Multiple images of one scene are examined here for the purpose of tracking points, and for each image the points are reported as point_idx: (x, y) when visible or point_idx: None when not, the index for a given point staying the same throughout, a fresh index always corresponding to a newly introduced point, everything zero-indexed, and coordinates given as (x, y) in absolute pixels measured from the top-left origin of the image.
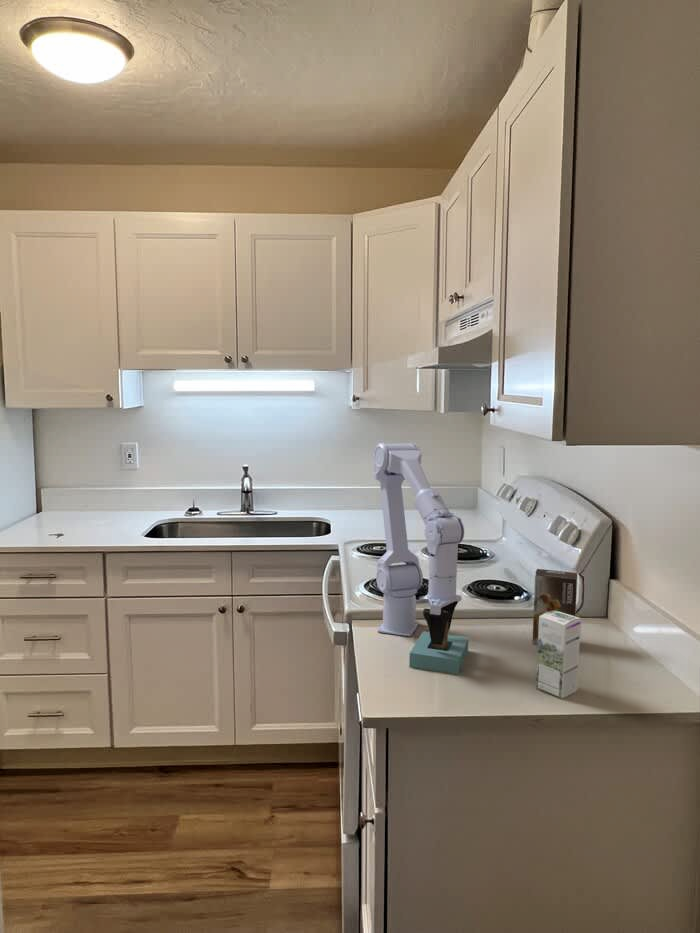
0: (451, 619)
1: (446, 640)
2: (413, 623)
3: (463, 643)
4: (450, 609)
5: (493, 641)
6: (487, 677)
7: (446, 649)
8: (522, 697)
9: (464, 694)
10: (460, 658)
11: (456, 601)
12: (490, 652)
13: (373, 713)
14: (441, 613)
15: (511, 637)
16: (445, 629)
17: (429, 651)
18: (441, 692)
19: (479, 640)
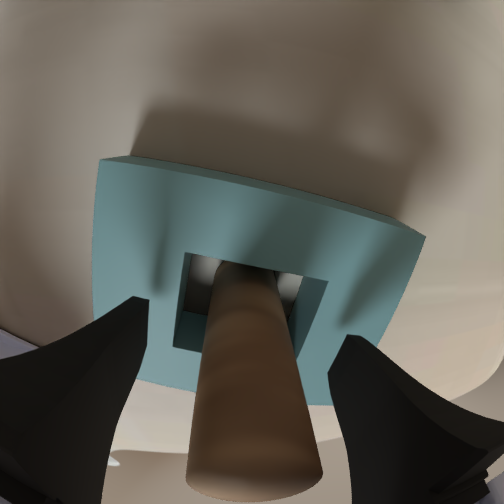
0: (101, 331)
1: (272, 309)
2: (5, 345)
3: (198, 190)
4: (80, 410)
5: (31, 64)
6: (405, 108)
7: (264, 281)
8: (491, 61)
9: (492, 216)
10: (386, 222)
11: (23, 457)
12: (133, 57)
13: (489, 375)
14: (477, 482)
15: (10, 22)
16: (294, 366)
17: (331, 355)
18: (476, 276)
19: (25, 116)
